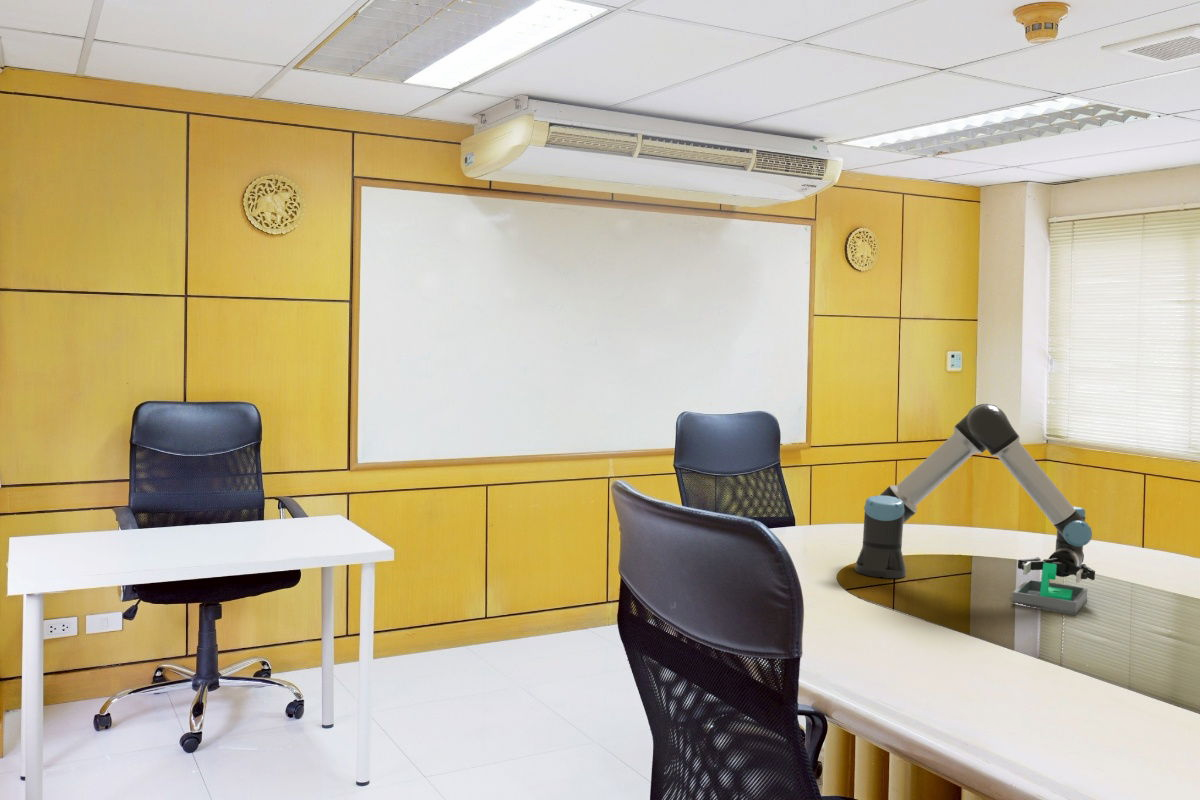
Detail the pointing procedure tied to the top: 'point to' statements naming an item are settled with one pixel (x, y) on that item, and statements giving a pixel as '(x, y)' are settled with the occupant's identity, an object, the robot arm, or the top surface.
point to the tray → (1031, 597)
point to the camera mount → (1052, 592)
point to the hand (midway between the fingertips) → (1050, 573)
